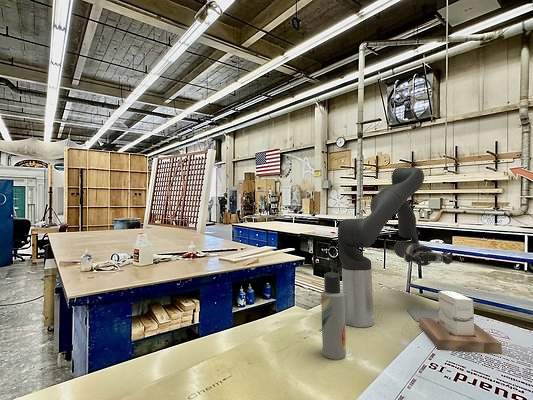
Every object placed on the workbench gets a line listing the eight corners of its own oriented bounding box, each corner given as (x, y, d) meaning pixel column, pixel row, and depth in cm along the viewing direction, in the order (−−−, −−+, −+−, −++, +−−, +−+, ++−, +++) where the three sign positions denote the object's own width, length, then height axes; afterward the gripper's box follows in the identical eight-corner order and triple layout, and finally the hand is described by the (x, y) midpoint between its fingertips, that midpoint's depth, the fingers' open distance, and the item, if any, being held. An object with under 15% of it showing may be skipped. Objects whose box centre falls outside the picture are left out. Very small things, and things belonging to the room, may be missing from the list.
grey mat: (416, 322, 92) (416, 320, 92) (406, 309, 103) (406, 308, 103) (465, 324, 89) (465, 323, 89) (449, 311, 100) (449, 310, 100)
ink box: (476, 345, 75) (474, 298, 76) (456, 345, 75) (454, 299, 76) (456, 331, 84) (453, 290, 84) (438, 332, 84) (436, 290, 84)
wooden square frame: (438, 349, 73) (438, 339, 73) (419, 325, 89) (418, 317, 89) (502, 353, 70) (501, 343, 70) (470, 328, 86) (469, 319, 86)
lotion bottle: (347, 350, 73) (344, 271, 74) (345, 361, 68) (342, 276, 69) (324, 347, 75) (322, 270, 76) (321, 358, 70) (318, 274, 71)
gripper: (398, 244, 112) (410, 249, 96) (439, 244, 109) (457, 249, 93) (399, 263, 111) (411, 272, 95) (440, 264, 108) (459, 272, 92)
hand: (434, 261), depth 94 cm, fingers open, 8 cm apart
